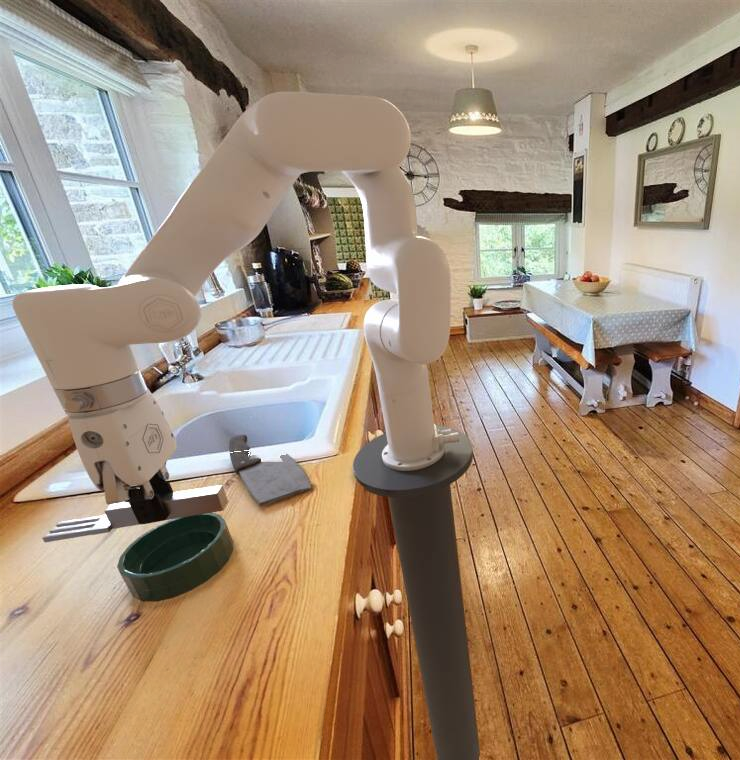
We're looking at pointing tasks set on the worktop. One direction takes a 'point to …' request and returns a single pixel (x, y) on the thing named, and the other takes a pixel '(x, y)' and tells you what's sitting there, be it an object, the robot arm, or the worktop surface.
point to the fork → (124, 516)
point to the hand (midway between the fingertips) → (159, 513)
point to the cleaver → (267, 474)
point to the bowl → (176, 557)
